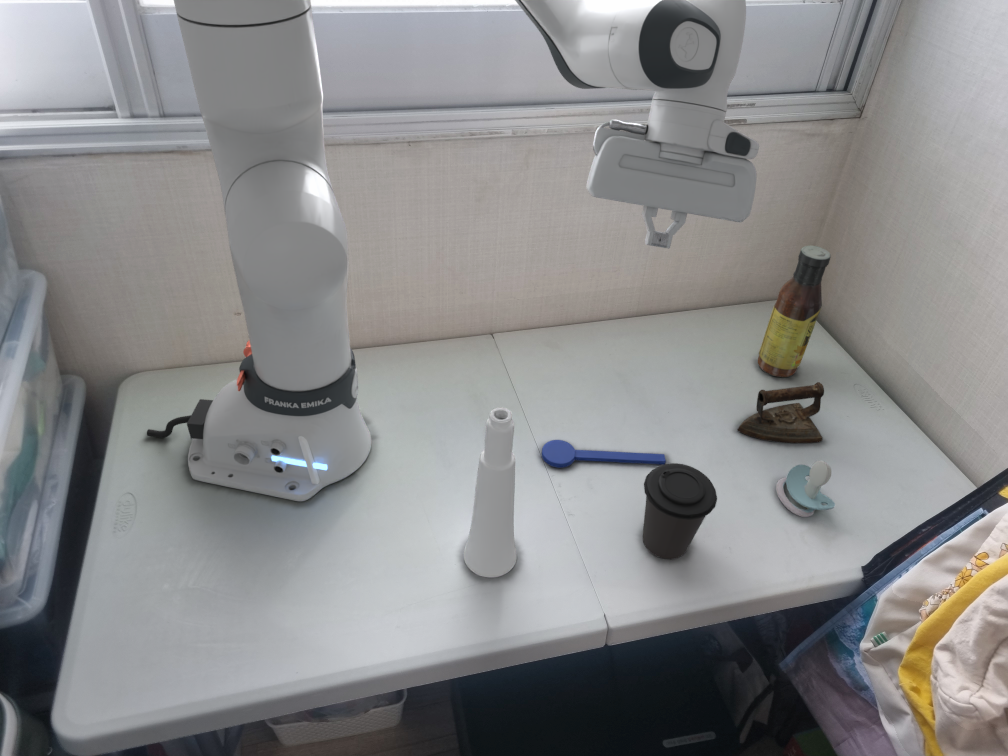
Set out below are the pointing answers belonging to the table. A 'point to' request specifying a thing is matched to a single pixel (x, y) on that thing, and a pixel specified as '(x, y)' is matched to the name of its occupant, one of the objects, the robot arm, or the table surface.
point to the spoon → (592, 455)
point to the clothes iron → (785, 416)
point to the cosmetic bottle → (494, 501)
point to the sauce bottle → (794, 315)
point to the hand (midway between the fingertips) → (656, 246)
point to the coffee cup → (675, 508)
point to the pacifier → (806, 488)
